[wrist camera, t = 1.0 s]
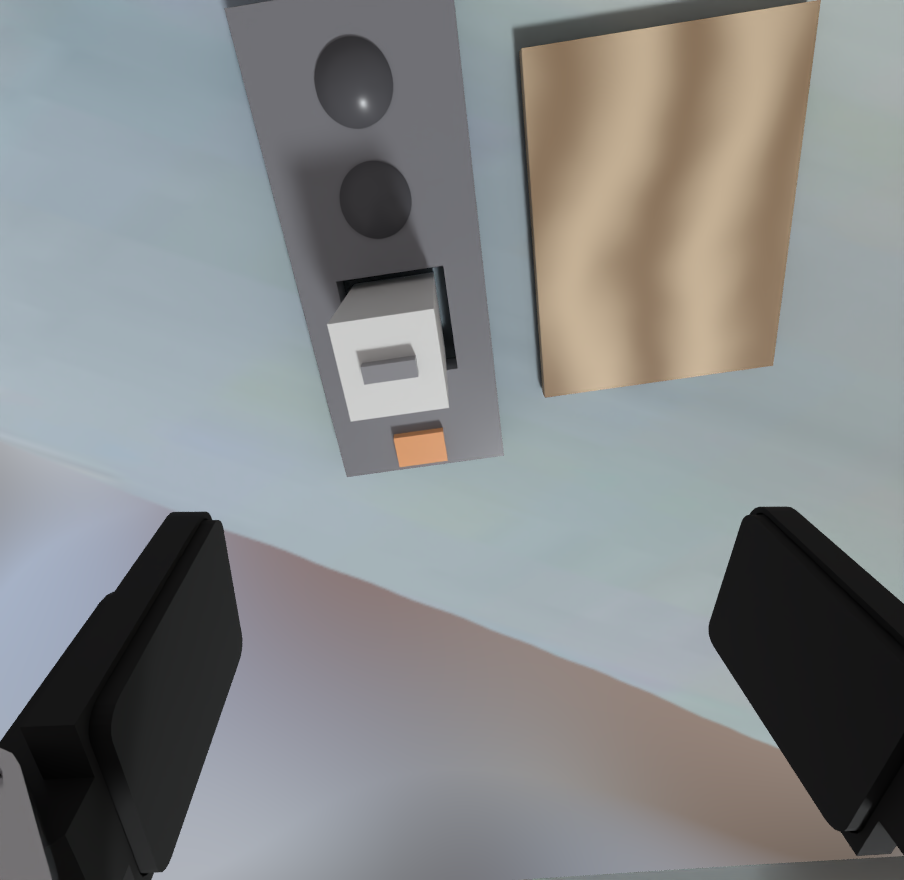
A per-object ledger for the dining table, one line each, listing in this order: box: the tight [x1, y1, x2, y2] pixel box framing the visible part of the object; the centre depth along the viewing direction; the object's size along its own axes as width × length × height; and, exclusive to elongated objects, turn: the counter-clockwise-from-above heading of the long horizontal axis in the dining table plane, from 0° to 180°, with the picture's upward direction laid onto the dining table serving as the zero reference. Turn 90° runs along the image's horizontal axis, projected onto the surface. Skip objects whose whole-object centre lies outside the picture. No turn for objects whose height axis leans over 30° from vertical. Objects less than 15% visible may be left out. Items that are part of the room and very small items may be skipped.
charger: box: [327, 272, 449, 422], centre depth 28 cm, size 5×5×10 cm
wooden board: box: [519, 0, 821, 397], centre depth 30 cm, size 14×18×1 cm
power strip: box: [224, 0, 504, 477], centre depth 30 cm, size 10×24×3 cm, turn 8°
